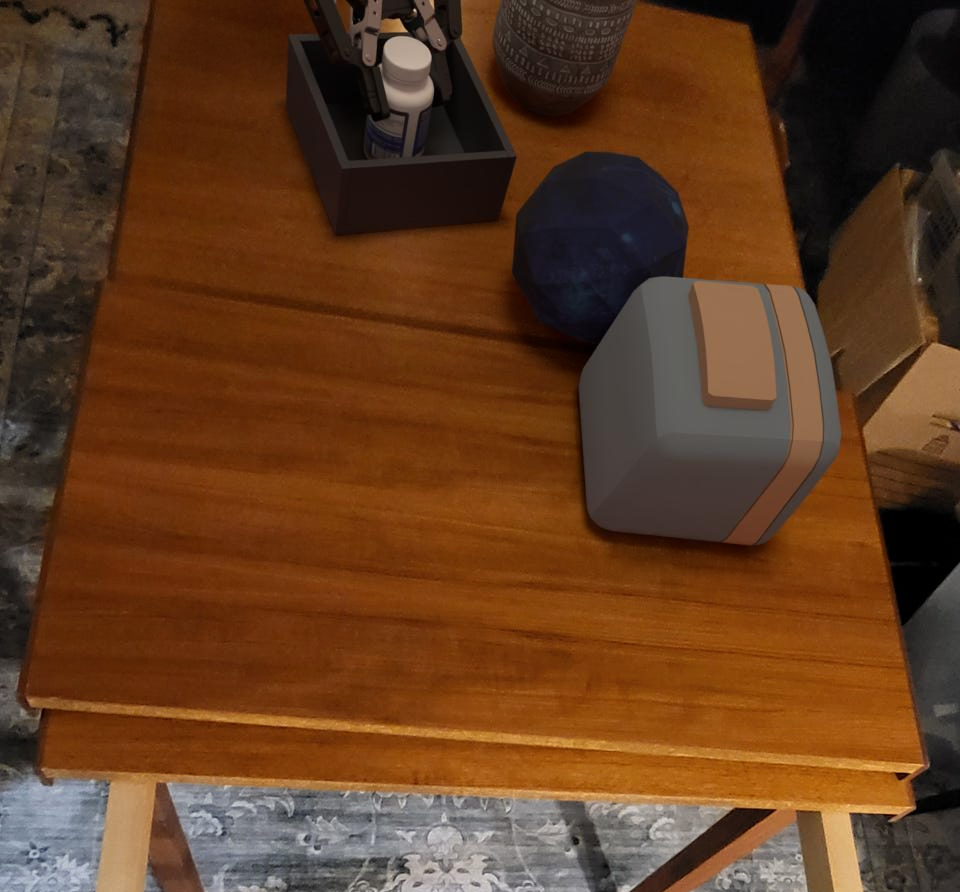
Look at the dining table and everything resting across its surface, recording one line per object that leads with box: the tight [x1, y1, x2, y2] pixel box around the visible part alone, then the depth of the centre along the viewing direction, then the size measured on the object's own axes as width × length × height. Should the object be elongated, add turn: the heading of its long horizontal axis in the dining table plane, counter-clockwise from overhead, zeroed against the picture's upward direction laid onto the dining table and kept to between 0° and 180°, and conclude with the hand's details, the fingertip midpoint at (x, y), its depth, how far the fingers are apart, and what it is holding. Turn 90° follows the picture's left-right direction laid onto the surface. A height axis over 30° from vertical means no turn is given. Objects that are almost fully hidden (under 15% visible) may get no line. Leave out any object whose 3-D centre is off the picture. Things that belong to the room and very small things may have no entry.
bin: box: [285, 31, 518, 236], centre depth 84 cm, size 16×16×7 cm
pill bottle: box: [364, 36, 434, 160], centre depth 82 cm, size 5×5×10 cm
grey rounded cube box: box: [578, 276, 842, 546], centre depth 73 cm, size 16×16×16 cm
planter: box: [491, 0, 638, 117], centre depth 90 cm, size 12×12×13 cm
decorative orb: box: [511, 150, 690, 345], centre depth 79 cm, size 14×15×15 cm
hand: (412, 111), depth 81 cm, fingers closed on pill bottle, 5 cm apart
